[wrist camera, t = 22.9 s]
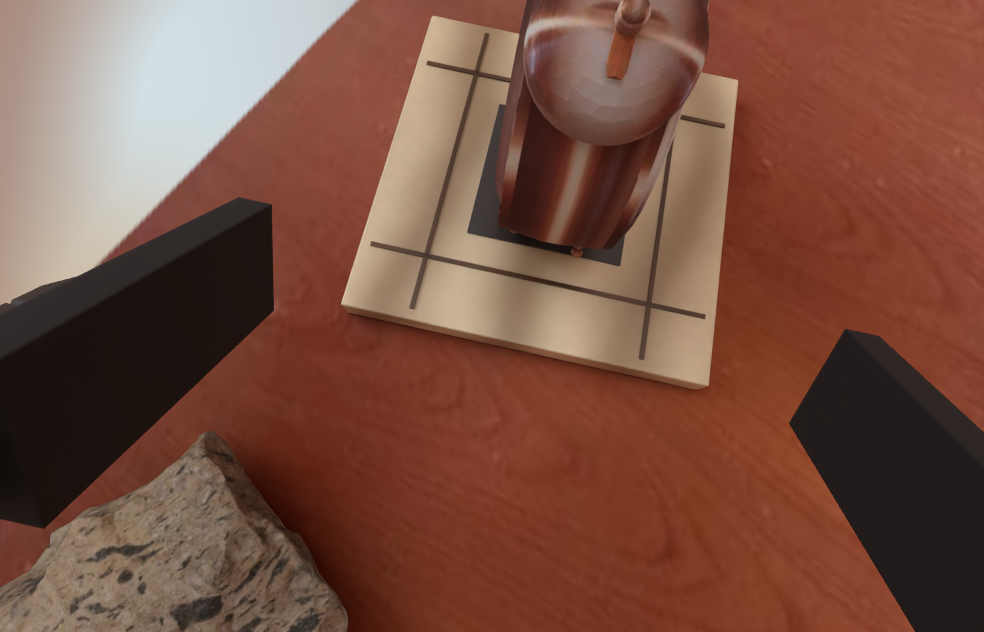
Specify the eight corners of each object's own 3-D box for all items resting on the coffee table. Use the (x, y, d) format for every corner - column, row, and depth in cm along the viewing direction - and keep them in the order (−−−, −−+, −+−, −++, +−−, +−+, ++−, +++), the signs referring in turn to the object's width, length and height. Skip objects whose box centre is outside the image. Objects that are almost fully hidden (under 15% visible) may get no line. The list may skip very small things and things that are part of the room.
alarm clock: (589, 301, 23) (801, 8, 8) (481, 277, 23) (503, -54, 8) (625, 96, 26) (825, -377, 11) (529, 76, 26) (608, -419, 11)
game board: (346, 312, 23) (339, 303, 22) (433, 33, 28) (431, 12, 27) (697, 390, 23) (710, 386, 22) (727, 95, 28) (740, 78, 26)
